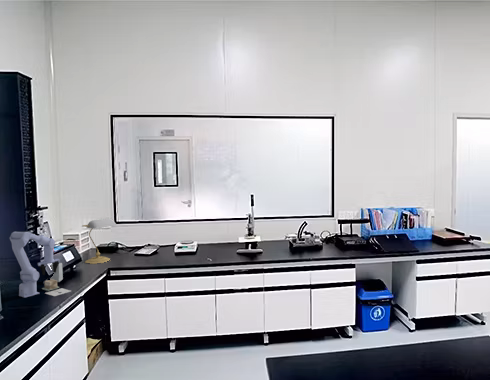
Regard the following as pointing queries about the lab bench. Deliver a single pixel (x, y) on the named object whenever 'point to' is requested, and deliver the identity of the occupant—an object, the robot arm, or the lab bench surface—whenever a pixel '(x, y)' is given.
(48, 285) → the beech block
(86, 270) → the lab bench surface
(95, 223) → the desk lamp
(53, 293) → the card
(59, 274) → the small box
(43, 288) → the sage pad
